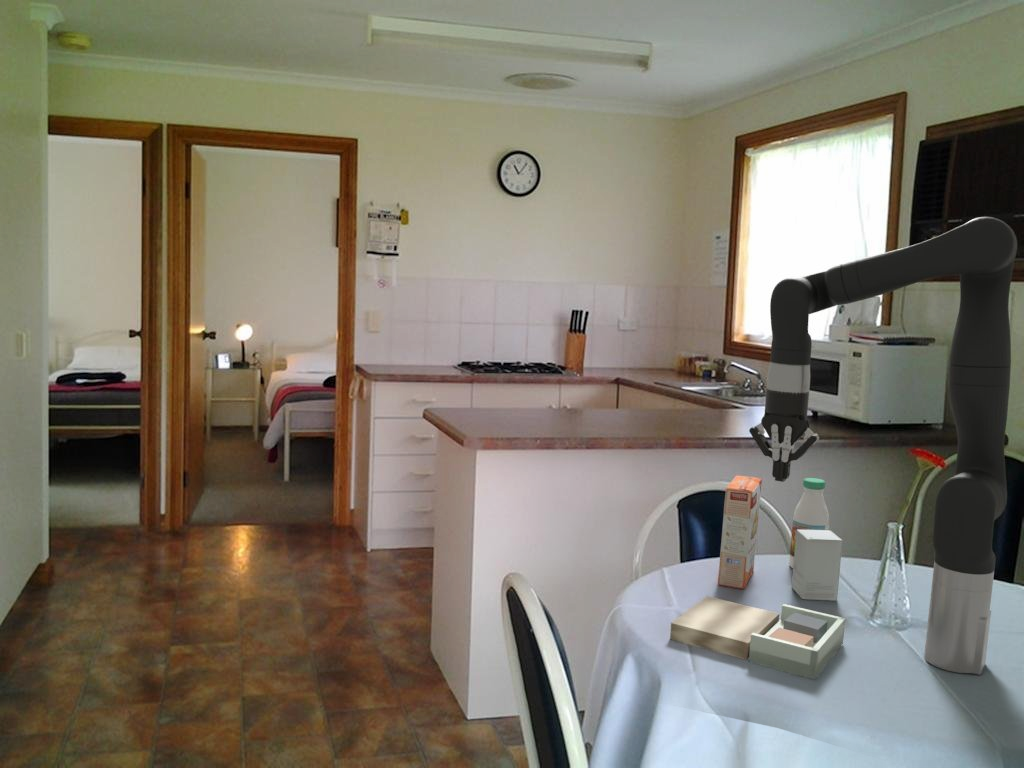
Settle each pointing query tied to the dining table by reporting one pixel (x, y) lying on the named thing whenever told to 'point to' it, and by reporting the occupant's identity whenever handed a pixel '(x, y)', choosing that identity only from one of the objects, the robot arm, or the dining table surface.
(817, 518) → the milk bottle
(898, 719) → the dining table surface
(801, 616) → the slate tile
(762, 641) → the box
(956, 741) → the dining table surface
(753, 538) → the cracker box
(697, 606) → the plate
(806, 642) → the terracotta tile
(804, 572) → the supplement box
